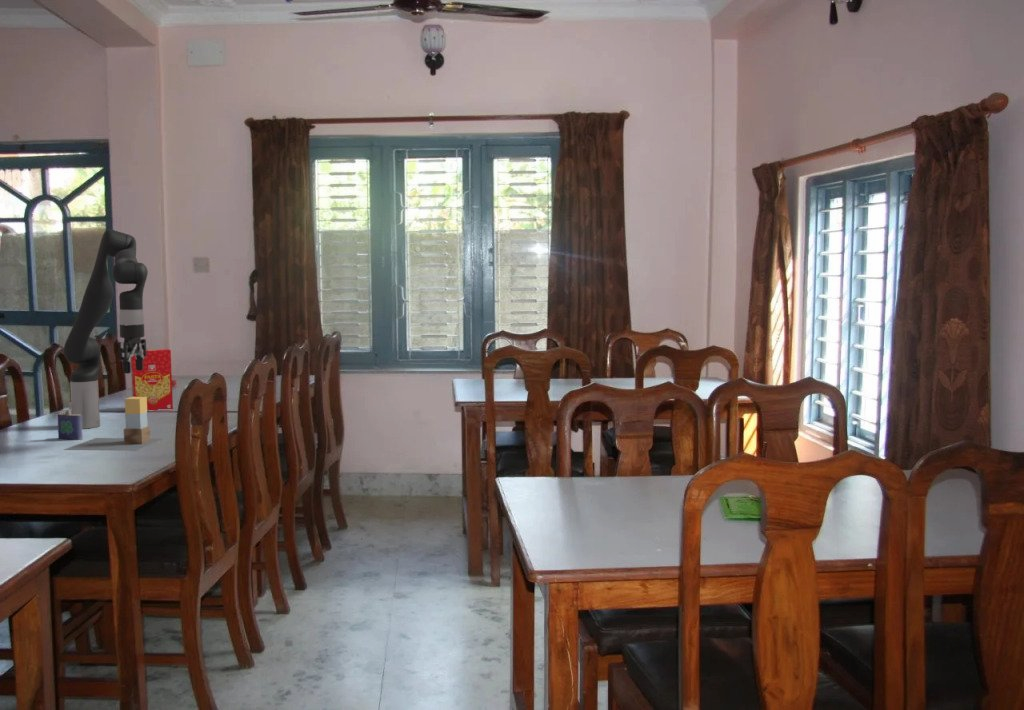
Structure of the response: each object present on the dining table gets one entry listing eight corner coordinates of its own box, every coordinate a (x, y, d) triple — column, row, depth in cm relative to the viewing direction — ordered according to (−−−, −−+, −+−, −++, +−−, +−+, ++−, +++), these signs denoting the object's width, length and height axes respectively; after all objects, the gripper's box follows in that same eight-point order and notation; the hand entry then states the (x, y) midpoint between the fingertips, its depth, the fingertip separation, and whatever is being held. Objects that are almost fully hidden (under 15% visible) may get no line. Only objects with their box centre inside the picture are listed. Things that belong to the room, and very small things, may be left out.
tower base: (124, 444, 289) (123, 429, 288) (133, 440, 295) (132, 425, 294) (142, 444, 289) (141, 429, 288) (150, 440, 295) (149, 426, 294)
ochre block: (125, 413, 289) (124, 398, 288) (132, 411, 294) (132, 396, 293) (140, 413, 288) (139, 399, 288) (147, 411, 293) (146, 396, 293)
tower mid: (125, 428, 289) (125, 413, 288) (133, 426, 294) (132, 411, 293) (140, 428, 289) (140, 414, 288) (147, 426, 294) (147, 411, 293)
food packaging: (134, 412, 356) (132, 351, 353) (133, 411, 360) (130, 350, 358) (173, 409, 363) (170, 350, 361) (170, 408, 368) (168, 349, 365)
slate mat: (63, 450, 280) (63, 449, 280) (96, 439, 300) (95, 437, 300) (136, 451, 279) (136, 450, 279) (164, 439, 298) (164, 438, 298)
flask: (84, 440, 298) (82, 409, 297) (77, 441, 295) (76, 410, 294) (62, 438, 301) (60, 408, 300) (55, 440, 298) (53, 409, 297)
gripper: (131, 321, 296) (132, 369, 298) (109, 324, 282) (111, 374, 283) (152, 322, 296) (154, 369, 297) (132, 324, 281) (133, 374, 283)
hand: (133, 371), depth 290 cm, fingers open, 8 cm apart
